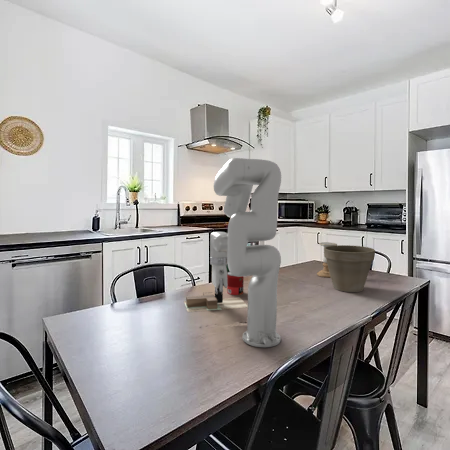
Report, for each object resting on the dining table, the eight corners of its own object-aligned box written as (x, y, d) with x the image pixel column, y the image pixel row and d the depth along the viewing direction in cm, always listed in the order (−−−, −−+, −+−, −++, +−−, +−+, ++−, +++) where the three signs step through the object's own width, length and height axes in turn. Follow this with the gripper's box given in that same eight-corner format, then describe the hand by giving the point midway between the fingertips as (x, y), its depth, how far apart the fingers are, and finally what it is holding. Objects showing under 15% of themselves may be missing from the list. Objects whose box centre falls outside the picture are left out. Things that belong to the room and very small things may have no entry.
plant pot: (324, 293, 159) (325, 250, 157) (321, 281, 183) (322, 244, 181) (378, 297, 153) (380, 252, 151) (368, 284, 177) (369, 245, 175)
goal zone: (221, 312, 131) (221, 309, 131) (187, 314, 128) (187, 312, 127) (214, 301, 144) (214, 299, 144) (183, 303, 141) (183, 301, 141)
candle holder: (312, 274, 201) (313, 242, 200) (329, 272, 205) (330, 241, 203) (324, 278, 190) (325, 245, 188) (341, 277, 193) (343, 244, 192)
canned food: (242, 297, 151) (242, 275, 150) (225, 296, 152) (225, 274, 151) (244, 293, 158) (244, 271, 157) (228, 292, 160) (228, 270, 159)
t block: (217, 308, 132) (217, 300, 131) (188, 310, 129) (188, 302, 129) (211, 299, 143) (211, 292, 143) (185, 301, 140) (185, 293, 140)
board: (249, 310, 134) (249, 307, 134) (187, 314, 128) (187, 312, 127) (239, 299, 147) (239, 297, 147) (183, 303, 141) (183, 301, 141)
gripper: (231, 263, 130) (231, 307, 131) (223, 257, 144) (222, 296, 146) (214, 264, 128) (213, 308, 130) (207, 257, 143) (206, 297, 144)
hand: (218, 302), depth 138 cm, fingers closed
